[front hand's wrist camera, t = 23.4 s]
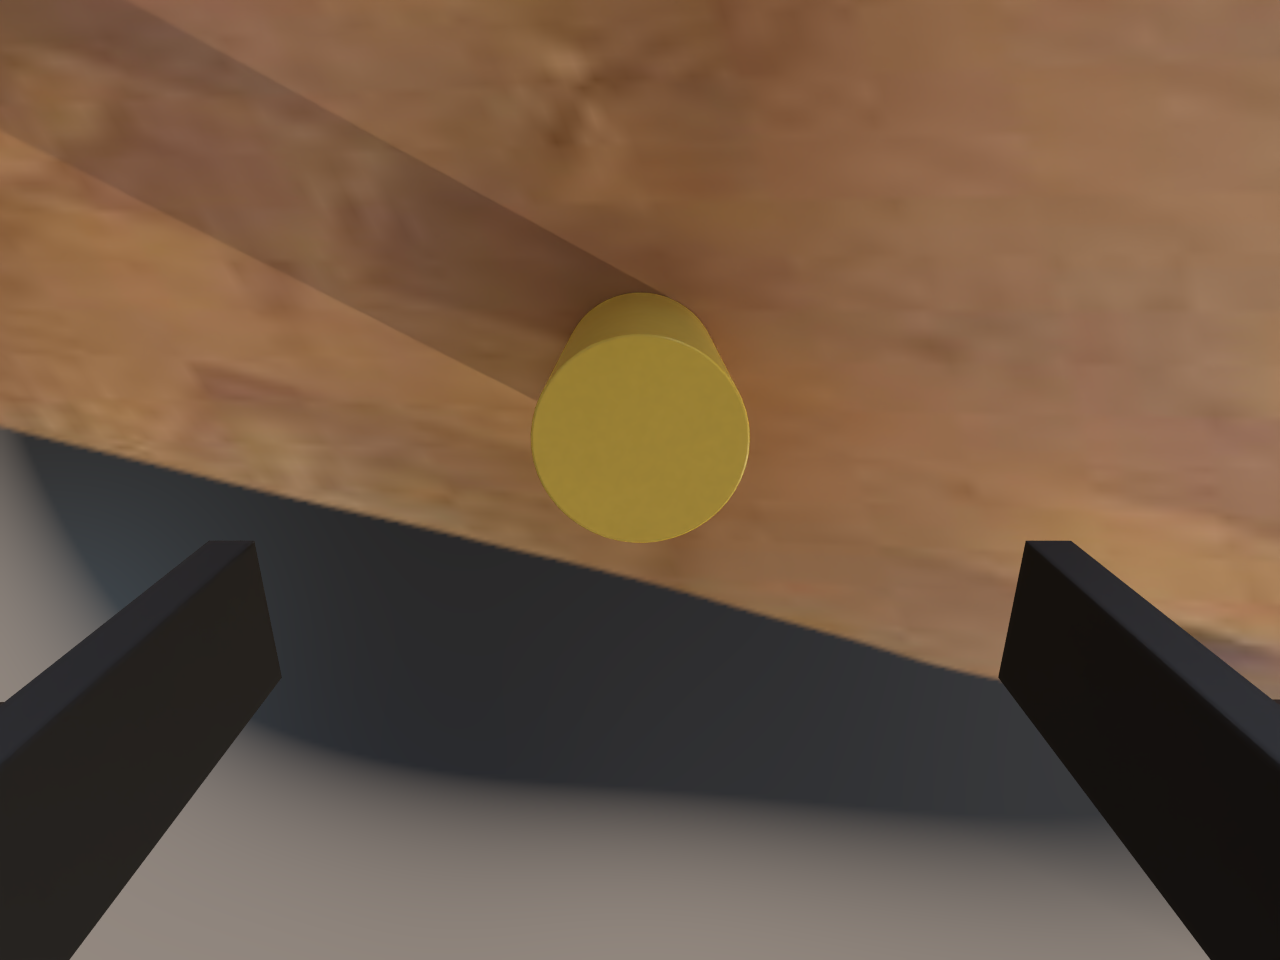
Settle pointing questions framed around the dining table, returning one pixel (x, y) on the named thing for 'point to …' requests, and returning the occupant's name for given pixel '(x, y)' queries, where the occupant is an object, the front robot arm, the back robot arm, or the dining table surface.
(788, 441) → the dining table surface
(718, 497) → the canister
